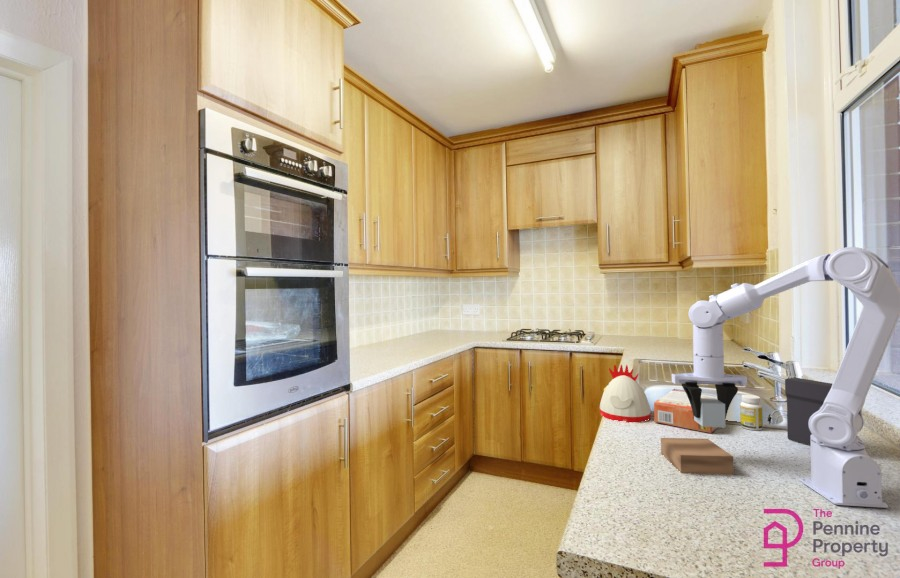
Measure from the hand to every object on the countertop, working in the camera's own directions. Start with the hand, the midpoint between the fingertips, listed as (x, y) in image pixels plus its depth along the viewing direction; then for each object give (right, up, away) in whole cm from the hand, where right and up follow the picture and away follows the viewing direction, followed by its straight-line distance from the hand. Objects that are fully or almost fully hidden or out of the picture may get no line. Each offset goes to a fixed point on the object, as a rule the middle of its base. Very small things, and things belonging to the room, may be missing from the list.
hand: (709, 417), depth 91 cm
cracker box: (+4, -6, +19) cm, 20 cm away
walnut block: (-5, -9, -3) cm, 11 cm away
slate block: (0, -1, 0) cm, 1 cm away
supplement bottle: (+23, -9, +19) cm, 31 cm away
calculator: (+29, -9, +6) cm, 31 cm away
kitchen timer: (-5, -10, +32) cm, 33 cm away
